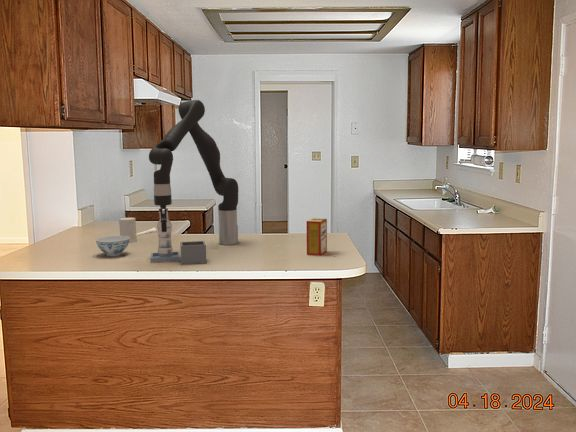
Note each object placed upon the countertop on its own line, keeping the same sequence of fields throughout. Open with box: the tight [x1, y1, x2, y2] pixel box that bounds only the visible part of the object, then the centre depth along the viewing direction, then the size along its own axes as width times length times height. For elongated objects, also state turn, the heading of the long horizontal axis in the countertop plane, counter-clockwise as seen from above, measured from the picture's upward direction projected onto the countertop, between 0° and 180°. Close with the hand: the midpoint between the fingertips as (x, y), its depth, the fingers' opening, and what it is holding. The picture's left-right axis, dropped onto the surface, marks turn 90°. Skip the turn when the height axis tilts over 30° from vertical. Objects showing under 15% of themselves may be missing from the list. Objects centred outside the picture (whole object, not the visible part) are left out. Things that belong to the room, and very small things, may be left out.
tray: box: [150, 251, 181, 264], centre depth 263 cm, size 13×12×2 cm
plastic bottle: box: [156, 212, 174, 257], centre depth 262 cm, size 6×7×20 cm
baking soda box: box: [306, 217, 328, 257], centre depth 270 cm, size 10×6×16 cm
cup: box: [118, 217, 138, 244], centre depth 306 cm, size 8×8×12 cm
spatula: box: [136, 227, 158, 237], centre depth 324 cm, size 28×4×3 cm, turn 157°
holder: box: [179, 240, 207, 265], centre depth 257 cm, size 11×10×8 cm
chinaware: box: [95, 235, 130, 257], centre depth 273 cm, size 15×15×8 cm
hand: (164, 230), depth 261 cm, fingers open, 8 cm apart
